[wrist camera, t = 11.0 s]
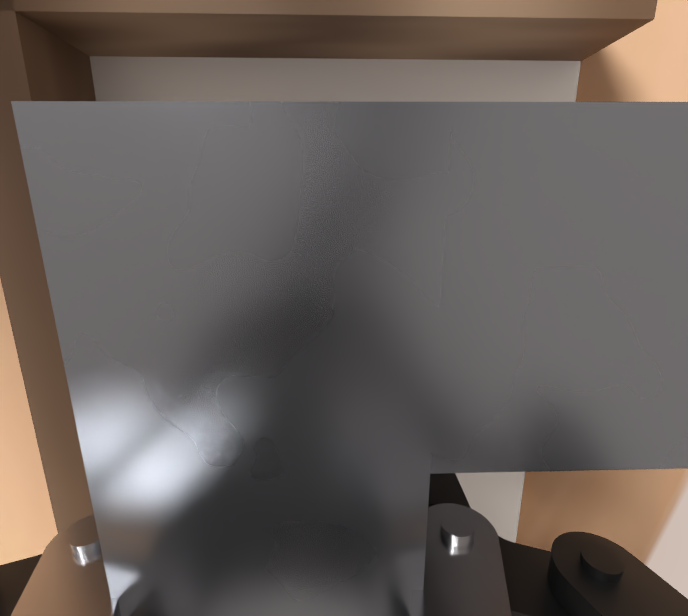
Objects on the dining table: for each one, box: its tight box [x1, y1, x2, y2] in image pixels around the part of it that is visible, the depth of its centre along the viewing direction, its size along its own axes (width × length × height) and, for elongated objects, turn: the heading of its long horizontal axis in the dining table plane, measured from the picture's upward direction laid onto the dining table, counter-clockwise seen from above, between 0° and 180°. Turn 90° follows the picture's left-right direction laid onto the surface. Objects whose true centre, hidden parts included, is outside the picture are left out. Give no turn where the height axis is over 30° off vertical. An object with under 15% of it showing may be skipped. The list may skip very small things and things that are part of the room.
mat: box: [90, 56, 581, 543], centre depth 14 cm, size 14×21×1 cm, turn 0°
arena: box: [0, 0, 657, 534], centre depth 12 cm, size 15×22×3 cm, turn 0°
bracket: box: [11, 101, 688, 616], centre depth 9 cm, size 16×8×6 cm, turn 0°
